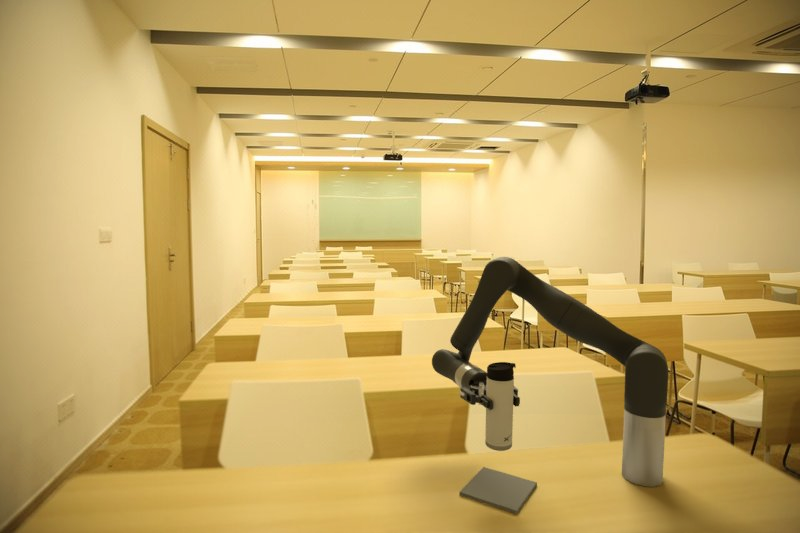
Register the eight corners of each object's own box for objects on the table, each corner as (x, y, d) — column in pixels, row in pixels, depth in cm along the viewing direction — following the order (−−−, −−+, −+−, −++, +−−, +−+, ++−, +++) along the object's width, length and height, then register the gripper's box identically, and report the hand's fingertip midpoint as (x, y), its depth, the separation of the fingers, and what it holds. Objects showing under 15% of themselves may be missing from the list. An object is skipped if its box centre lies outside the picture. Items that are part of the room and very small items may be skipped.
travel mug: (513, 452, 112) (516, 368, 110) (484, 449, 113) (486, 366, 111) (513, 440, 118) (515, 360, 116) (485, 438, 119) (487, 358, 117)
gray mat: (483, 469, 126) (483, 466, 126) (536, 485, 118) (536, 482, 118) (459, 495, 114) (459, 491, 114) (516, 514, 107) (516, 510, 107)
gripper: (448, 369, 126) (476, 391, 110) (498, 364, 130) (532, 385, 114) (448, 397, 126) (476, 423, 110) (497, 391, 130) (531, 416, 114)
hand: (504, 403), depth 112 cm, fingers closed on travel mug, 6 cm apart
